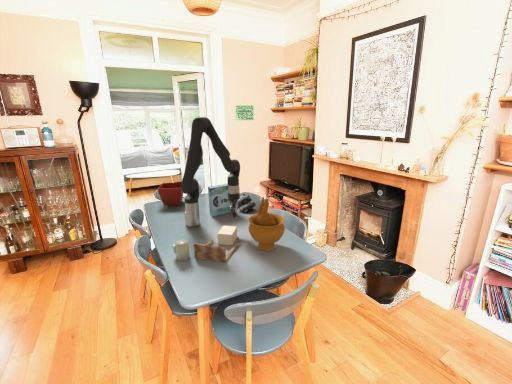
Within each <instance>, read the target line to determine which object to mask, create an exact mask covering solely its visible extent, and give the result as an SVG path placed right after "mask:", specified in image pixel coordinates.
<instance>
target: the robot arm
mask: <svg viewBox="0 0 512 384" xmlns="http://www.w3.org/2000/svg"><path fill="white" fill-rule="evenodd" d="M203 134H205V135H206V136H207V137H208V138H209V140H210V142H211V145H212V149H213V151H214V152H215V154H216V155H217V156H218V158H219V159H220V162H221V163H222V166H223V168H224V170H225V171H226V172H228V173H229V175H228V176H227V184H228V199H229V200H230V206H229V209H230V211H231V212H230V213H232V218H234V219H236V218H237V217H238V213H237V212H238V210H239V208H238V207H239V202H240V201H238V199H240V197H241V191H240V189H241V187H240V179H239V178H240V173H241V172H240V171H241V165H240V161H239V160H237V159H231V152H230V151H229V150H228V148H227V147H226V145H225V144H224V142H223V141H222V140H221V138H220V137H219V134H218V132H217V131H216V129H215V127H214V125H213V123H212V122H211V120H210V119H209V118H208V117H206V116H198V117H195V118H194V119H193V120H192V122H191V131H190V139H189V141H190V142H189V145H188V146H189V148H188V153H187V156H186V163H185V168H184V173H183V177H182V179H181V190H182V192H183V194H185V196H184V207H185V212H184V221H185V226H186V227H189V228H195V227H198V226H200V225H201V221H200V220H201V218H200V207H199V206H200V205H199V197H200V185H199V181H198V180H197V178H195V176H196V173H197V171H198V170H199V168H200V166H201V164H202V161H203V156H204V152H203V151H204V150H203V146H202V137H203Z"/></svg>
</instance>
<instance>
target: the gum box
mask: <svg viewBox="0 0 512 384" xmlns="http://www.w3.org/2000/svg"><path fill="white" fill-rule="evenodd" d="M207 192H208V206H209V207H208V209H209V216H211V217H212V218H213V217H216V216H220V215H225V214H229V213H232V212H231V211H230V209H229V206H230V200H229V199H228V183H224V184H219V185H212V186H207Z"/></svg>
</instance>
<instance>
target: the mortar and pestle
mask: <svg viewBox="0 0 512 384" xmlns="http://www.w3.org/2000/svg"><path fill="white" fill-rule="evenodd" d="M269 206H270V204H269V200H268V199H267V198H265V197H264V196H263V197H261V202H260V204H259V206H258V211H257V213H256V214H252V215H251V216H250V217H249V218H248V221H249V225H248V233H249V234H250V237H251V238H252V239H253V240H254V241H255V242H257V243H258V244H257V248H258V249H260V250H262V251H272V250H274V249H275V248H276V244H275V243H277V242H278V241H280V240H281V238H282V237H283V235H284V233H285V231H286V226H285V224H284V222H285V217H283V216H282V215H280V214H278V213H271V212H269V211H268V210H269Z"/></svg>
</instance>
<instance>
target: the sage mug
mask: <svg viewBox="0 0 512 384" xmlns="http://www.w3.org/2000/svg"><path fill="white" fill-rule="evenodd" d="M172 249H173V254H175V256H176V260H177V261H180V262H183V261H186V260H188V259H190V258H191V253H190V243H189V240H188V239H179V240H176V241H175V242H174V244H173V245H172Z"/></svg>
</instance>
